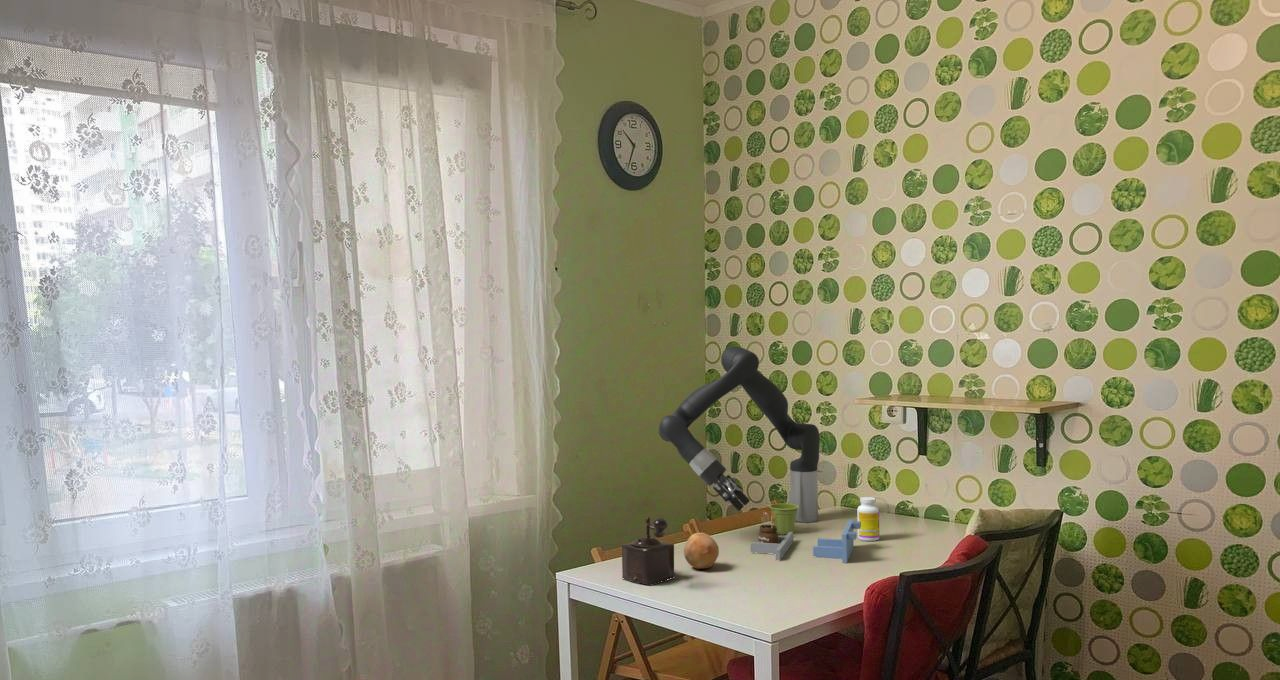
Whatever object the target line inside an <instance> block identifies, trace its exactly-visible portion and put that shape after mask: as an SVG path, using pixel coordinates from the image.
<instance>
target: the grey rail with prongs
mask: <svg viewBox="0 0 1280 680" xmlns="http://www.w3.org/2000/svg"><path fill="white" fill-rule="evenodd" d="M785 535H786V536H783V535H778V544H776V543H759V539H758V537H759V534H757V535H756V542H754V541H752V542H750V553H751V552H757V553H756V554H758V553H773V554H772V555H774V554H776V555H775V561H776V560H780V559H781V560H782V558H783V557H784V555H785V554H786V553H787V551H788V550H789V548H790V547H791V545H792V544H793V543H794V533H793V532H789V533H787V534H785ZM791 543H792V544H791ZM790 544H791V545H790ZM789 546H790V547H789ZM788 547H789V548H788ZM787 549H788V550H787ZM786 550H787V551H786ZM785 552H786V553H785ZM784 553H785V554H784ZM782 556H783V557H782ZM781 560H780V561H781Z"/></svg>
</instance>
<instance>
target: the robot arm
mask: <svg viewBox="0 0 1280 680" xmlns="http://www.w3.org/2000/svg"><path fill="white" fill-rule="evenodd" d="M720 363H721V366H722V368H723V370H724V371H725V374H722V376H720V377H719V378H717V379H715V380H713V381H711V382H709V383H706V384H705V385H702V386H700V387H698V388H696V389H695V390H694V391H692V392H691V393H690V394H689V395H688V396H687V397H686V398H685V399H684V400H683V401H682V402H681V403H680V404H679V406H678V407H677V408H676V409H675V411H674V412H673V413H671V414H669V415H665V416H664V417H662V419H660V422H659V427H658V434H659V437H660V438H661V439H662V440H663V441H665V442H668V443H669V442H671V444H672V445H673V446H675V448H676V450H677V452H678V454H679V455H680V457H681V458H682V459H683V460H684V461H685V462H686V463H687V464H688V465H689V466H690V467H691V469H692V470H693V471H694V472H695V473H696V475H697V476H698V477H699V478H700V479H701V480H702V481H703V482H704V483H705V484H706V485H707V486H708V487H710V486H712V485H713V484H714V485H713V486H712V489H713V490H714V491H715V492H716V493H717V494H718V495H719V497H721V498H722V500H724V502H728V503H730V504H731V505H732V506H733V507H734V508H735V509H736V510H737V511H741V510H742V509H743V508H744V506H747V505H748V504H749V503H750V501H751V500H750V499H749V497H747V495H746V494H745V493H744V492H743V490H742V486H740V485H739V483H737V481H736V480H735V479H733V478H732V476H731V475H729V474H727V475H726V476H725V474H724V473H726V471H727V469H726V467H725V466H724V465H723V464H722V463H721V462H720V461H719V460H718V459H717V458H716V457H715V455H713V454H712V452H710V451H709V450H708V449H706V448H705V446H704V445H702V443H700V441H698V439H696V438H695V437H694V435H693V434H692V433H691V431H690V429H688V428H689V427H690V426H691V425H692V424H693V423H695V421H696V420H698V419H699V418H700V417H701V416H702V415H703V414H705V412H706V411H707V410H709V408H710V407H712V406H713V405H714V404H715V403H716V402H718V400H720V399H721V398H723V397H724V396H726V395H727V394H729V393H730V392H731V391H733V390H735V389H736V388H737V387H738V386H741V387H742V388H743V390H744V391H745V393H746V394H747V396H749V398H750V399H751V400H752V401H753V403H754V404H755V405H756V406H757V408H758V409H759V410H760V411H761V412H762V414H763V415H764V416H765V417H766V418H767V419H768V420H769V422H770V423H771V424H772V426H773V427H774V428H775V429H776V431H777V432H778V434H779V435H780V437H781V439H782V440H783V442H784V443H785V444H786V446H787V447H788V448H790V449H792V450H796V451H801V456H800V457H799V458H798V459H794V460H791V462H790V463H789V465H790V467H789V470H790V472H789V476H790V477H789V478H790V480H789V481H790V490H789V492H788V495H789V496H788V498H789V500H788V502H789V503H788V504H794V505H798V506H799V508H798V509H797V513H796V518H795V523H796V522H798V523H813V522H817V521H818V520H819V494H818V492H819V491H818V490H819V489H818V488H819V487H818V486H819V483H818V481H819V480H818V465H819V461H820V440H821V439H820V438H821V437H820V431H819V429H818V427H817V426H816V424H812V423H805V422H803V423H802V422H796V421H795V420H793V419H792V418H791V416H790V414H788V413H789V412H788V410H789V402H788V400H787V397H786V395H785V394H784V393H783V392H782V390H780V388H779V387H778V386H777V385H776V383H774V382H772V380H770V379H768V377H766V376H765V375H763V374H762V373H761V372H760V371H758V369H759V365H760V360H759V357H758V356H757V354H755V353H754V351H750V350H749V349H746V348H744V347H742V346H738V345H732V346H731V345H730V346H728V347H726V348H725V349H724V350H723V351H722V353H721V356H720Z"/></svg>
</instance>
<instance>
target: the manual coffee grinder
mask: <svg viewBox="0 0 1280 680" xmlns="http://www.w3.org/2000/svg"><path fill="white" fill-rule="evenodd" d="M668 525H669V524H668V522H667V520H666V519H664V518H659V517H658V518H655V519H654V520H653V523H652V524H651V517H648V516H647V517H646V518H645V524H644V526H645V529H646V530H645V531H646V533H645V536H642V537H641V536H640V538H637V540H635V541H632V542H627V543H624V544H622V545H621V565H622V568H621V569H622V577H621V579H622V578H624V579H627V580H630V581H629V582H631V581H633V582H632V583H634V582H638V583H637V584H640V583H642V584H641V585H645V584H646V585H647V586H651V585H650V584H654V585H656V584H655V583H658V582H661V581H665V580H667V579H670V578H673V577H674V578H675V544H674V543H670V542H666V541H661V540H659V539H658V538H663V537H665V535H666V534H665V530H666V529H667V528H668ZM650 529H651V530H652V531H654V532H653V536H654V537H653V536H651V535H650ZM674 578H673V579H674ZM624 579H623V580H624ZM627 580H626V581H627ZM670 580H671V579H670ZM665 582H666V581H665ZM661 583H662V582H661ZM658 584H659V583H658Z"/></svg>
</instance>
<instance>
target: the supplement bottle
mask: <svg viewBox="0 0 1280 680" xmlns="http://www.w3.org/2000/svg"><path fill="white" fill-rule="evenodd" d="M859 500H860V501H859V502H860V505H859V506H858V507H857V511H856V513H857V514H856V515H857V516H856V517H857V518H856V519H857V520H856V521H859V522H861V528H860V529H857V539H859V541H863V542H877V541H878V540H880V508H879V507H878V506H876V501H877V500H876V498H875V497H872V496H862V497H860V499H859ZM876 540H877V541H876Z"/></svg>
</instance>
